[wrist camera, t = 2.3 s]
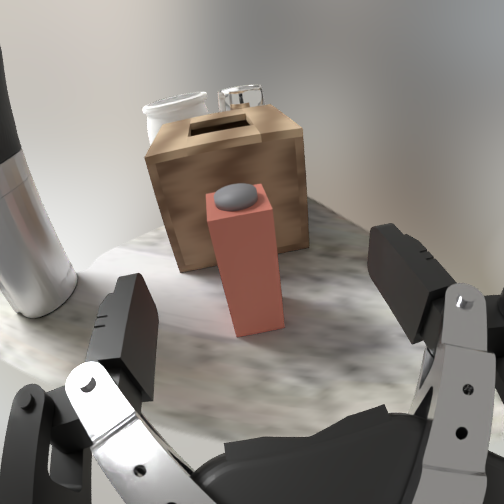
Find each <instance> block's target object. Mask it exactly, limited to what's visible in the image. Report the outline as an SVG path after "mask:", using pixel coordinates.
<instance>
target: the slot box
mask: <svg viewBox="0 0 504 504" xmlns="http://www.w3.org/2000/svg"><path fill="white" fill-rule="evenodd" d="M145 161H146V165H147V168H148V172H149V175H150V179H151V182H152V186H153V189H154V193H155V196H156V199H157V203H158V206H159V209H160V212H161V216H162V219H163V222H164V225H165V228H166V232H167V235H168V238H169V241H170V244H171V247H172V250H173V253H174V256H175V259H176V262H177V265H178V268H179V271H180V273H181V272H186V271H192V270H197V269H202V268H207V267H212V266H217V265H218V264H217V260H216V256H215V252H214V248H213V244H212V240H211V236H210V232H209V227H208V223H207V210H206V194H208V193H213V192H216V191H217V190H219V189H221V188H222V187H225V186H228V185H232V184H238V183H245V184H251V185H256V184H262V186H263V189H264V191H265V193H266V195H267V198H268V200H269V202H270V204H271V207H272V209H273V217H274V226H275V235H276V244H277V254H279V253H284V252H289V251H294V250H299V249H304V248H309V228H308V205H307V187H306V170H305V155H304V141H303V129H302V127H300V126H299V125H298V124H296V123H295V122H294V121H292V120H291V119H290V118H289V117H287V116H286V115H284V114H283V113H282V112H280V111H279V110H278V109H276V108H275V107H274V106H272V105H271V104H269V105H262V106H255V107H248V108H242V109H235V110H230V111H224V112H218V113H213V114H208V115H203V116H198V117H193V118H188V119H184V120H179V121H175V122H171V123H166V124H162V126H161V128H160V130H159V132H158V133H157V135H156V137H155V139H154V141H153V142H152V144H151V146H150V148H149V150H148V152H147V154H146V156H145Z"/></svg>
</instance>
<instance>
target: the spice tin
mask: <svg viewBox="0 0 504 504" xmlns="http://www.w3.org/2000/svg"><path fill="white" fill-rule="evenodd" d="M206 210H207V223H208V227H209V232H210V236H211V240H212V244H213V248H214V252H215V256H216V260H217V264H218V268H219V272H220V276H221V280H222V284H223V288H224V291H225V295H226V299H227V303H228V307H229V311H230V314H231V318H232V322H233V325H234V329H235V333H236V337H242V336H247V335H252V334H257V333H262V332H267V331H272V330H277V329H281V328H285V325H284V315H283V304H282V294H281V283H280V273H279V264H278V254H277V244H276V235H275V226H274V217H273V209H272V207H271V204H270V202H269V200H268V198H267V195H266V193H265V191H264V189H263V186H262V184H256V185H251V184H245V183H238V184H232V185H228V186H225V187H222V188H221V189H219V190H217V191H216V192H213V193H208V194H206Z"/></svg>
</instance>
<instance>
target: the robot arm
mask: <svg viewBox="0 0 504 504" xmlns="http://www.w3.org/2000/svg"><path fill="white" fill-rule="evenodd" d="M367 265H368V271H369V275H370V277H371V279H372V281H373V282H374V284H375V285H376V287H377V288H378V290H379V292H380V293H381V295H382V296H383V298H384V299H385V301H386V303H387V304H388V306H389V307H390V309H391V311H392V312H393V314H394V315H395V317H396V319H397V320H398V322H399V324H400V325H401V327H402V329H403V330H404V332H405V334H406V335H407V337H408V339H409V340H410V342H411V344H415V343H418V342H421V341H424V342H425V344H426V347H425V350H424V354H423V360H422V365H421V370H420V375H419V379H418V384H417V388H416V392H415V396H414V399H413V402H412V404H411V407H410V409H409V412H408V414H406V413H388V411H387V409H386V407H385V404H383V405H380V406H378V407H375V408H372V409H369V410H366V411H363V412H360V413H357V414H353V415H350V416H347V417H346V418H344V419H342V420H340V421H339V422H337V423H335V424H333V425H331V426H330V427H328V428H326V429H324V430H322V431H320V432H318V433H316V434H315V435H312V436H309V437H260V438H254V439H248V440H242V441H236V442H229V443H224V447H225V453H223V454H221V455H218V456H216V457H214V458H212V459H211V460H209V461H207V462H206V463H204V464H203V465H202V466H201V467H199V468H198V469H197V470H196V471H194V470H193V469H192V468H191V467H190V466H189V465H188V464H187V463H186V462H185V461H184V460H183V459H182V458H181V457H180V456H179V455H178V454H177V453H176V452H175V451H174V450H173V449H172V447H170V445H169V444H168V443H167V442H166V441H165V440H164V438H162V436H161V435H160V434H159V433H158V431H157V430H156V429H155V428H154V427H153V426H152V424H151V423H150V422H149V421H148V419H147V418H146V417H145V416H144V415H143V413H142V412H141V405H142V402H148V401H153V393H154V375H155V360H156V347H157V335H158V324H159V319H158V312H157V308H156V305H155V303H154V301H153V299H152V297H151V294H150V292H149V290H148V288H147V285H146V283H145V281H144V279H143V277H142V275H141V274H140V273H136V274H131V275H126V276H121V277H119V278H118V280H117V283H116V287H115V290H114V293H110V294H108V295H107V296H106V298H105V299H104V300H103V302H102V303H101V305H100V307H99V310H98V314H97V319H96V321H95V324H94V329H93V332H92V335H91V339H90V343H89V347H88V351H87V355H86V359H85V363H84V364H81V365H79V366H78V367H76V368H75V369H74V370H73V371H72V372H71V374H70V375H69V377H68V379H67V381H66V385H65V386H62V387H59V388H57V389H54V390H51V391H49V392H45V391H44V390H43V389H42V388H41V387H40V386H39V385H37V384H29V385H26V386H24V387H23V388H22V389H20V390H19V391H18V393H17V394H16V396H15V397H14V400H13V403H12V407H11V412H10V416H9V421H8V426H7V431H6V436H5V442H4V448H3V455H2V462H1V469H0V504H91V462H92V460H91V459H92V454H93V456H94V457H95V459H96V461H97V462H98V464H99V465H100V467H101V469H102V470H103V472H104V473H105V475H106V476H107V478H108V479H109V481H110V482H111V484H112V485H113V486H114V488H115V489H116V491H117V492H118V494H119V495H120V496H121V498H122V499H123V501H124V502H125V503H126V504H504V457H501V456H499V455H497V454H495V453H493V452H491V451H489V450H488V447H489V441H490V434H491V426H492V417H493V407H494V394H495V388H496V390H497V392H498V394H499V396H500V398H501V400H502V402H503V404H504V288H503V291H502V293H501V295H489V296H483V294H482V293H481V292H480V291H479V290H478V289H477V288H475V287H473V286H471V285H469V284H465V283H456V282H455V280H454V279H453V278H452V277H451V276H450V275H449V274H448V273H447V271H446V270H445V269H444V268H443V267H442V266H441V264H440V263H439V262H438V261H437V260H436V259H434V258H433V256H432V255H431V254H430V252H427V249H426V248H425V247H424V246H423V245H422V244H421V243H420V242H419V241H418V240H416V239H414V238H413V237H411V236H409V235H407V234H405V235H403V234H402V232H401V231H400V230H399V229H398V228H397V227H396V226H395V225H394V224H392V223H389V224H384V225H379V226H374V227H372V228H371V230H370V238H369V251H368V262H367ZM76 283H77V275H76V272H75V271H74V269H73V267H72V265H71V263H70V261H69V259H68V257H67V255H66V253H65V251H64V249H63V247H62V245H61V243H60V241H59V239H58V237H57V234H56V232H55V230H54V228H53V226H52V224H51V221H50V219H49V217H48V215H47V213H46V210H45V208H44V205H43V203H42V201H41V198H40V196H39V193H38V191H37V188H36V186H35V183H34V181H33V178H32V176H31V173H30V170H29V168H28V165H27V162H26V159H25V156H24V154H23V150H22V149H21V144H20V141H19V138H18V134H17V130H16V126H15V121H14V117H13V113H12V109H11V105H10V101H9V96H8V91H7V86H6V80H5V73H4V65H3V58H2V51H1V47H0V290H1V292H2V293H3V295H4V296H5V298H6V299H7V301H8V302H9V304H10V305H11V306H12V308H13V309H14V311H15V312H16V313H17V312H21V313H22V314H23V315H24V316H26V317H28V318H37V317H41V316H44V315H46V314H48V313H50V312H52V311H54V310H55V309H57V308H58V307H59V306H60V305H62V304H63V303H64V302H65V301H66V300H67V299H68V298H69V296H70V295H71V294H72V292H73V290H74V288H75V286H76ZM50 444H51V445H52V453H51V464H50V476H49V473H48V455H49V445H50Z"/></svg>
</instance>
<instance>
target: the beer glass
mask: <svg viewBox="0 0 504 504" xmlns="http://www.w3.org/2000/svg"><path fill="white" fill-rule="evenodd" d="M217 93H218V102H219V112H224V111H230V110H235V109H242V108H248V107H255V106H262V105H265V100H264V95H263V91H262V85H242V86H236V87H230V88H226V89H222V90H219V91H218V92H217Z"/></svg>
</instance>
